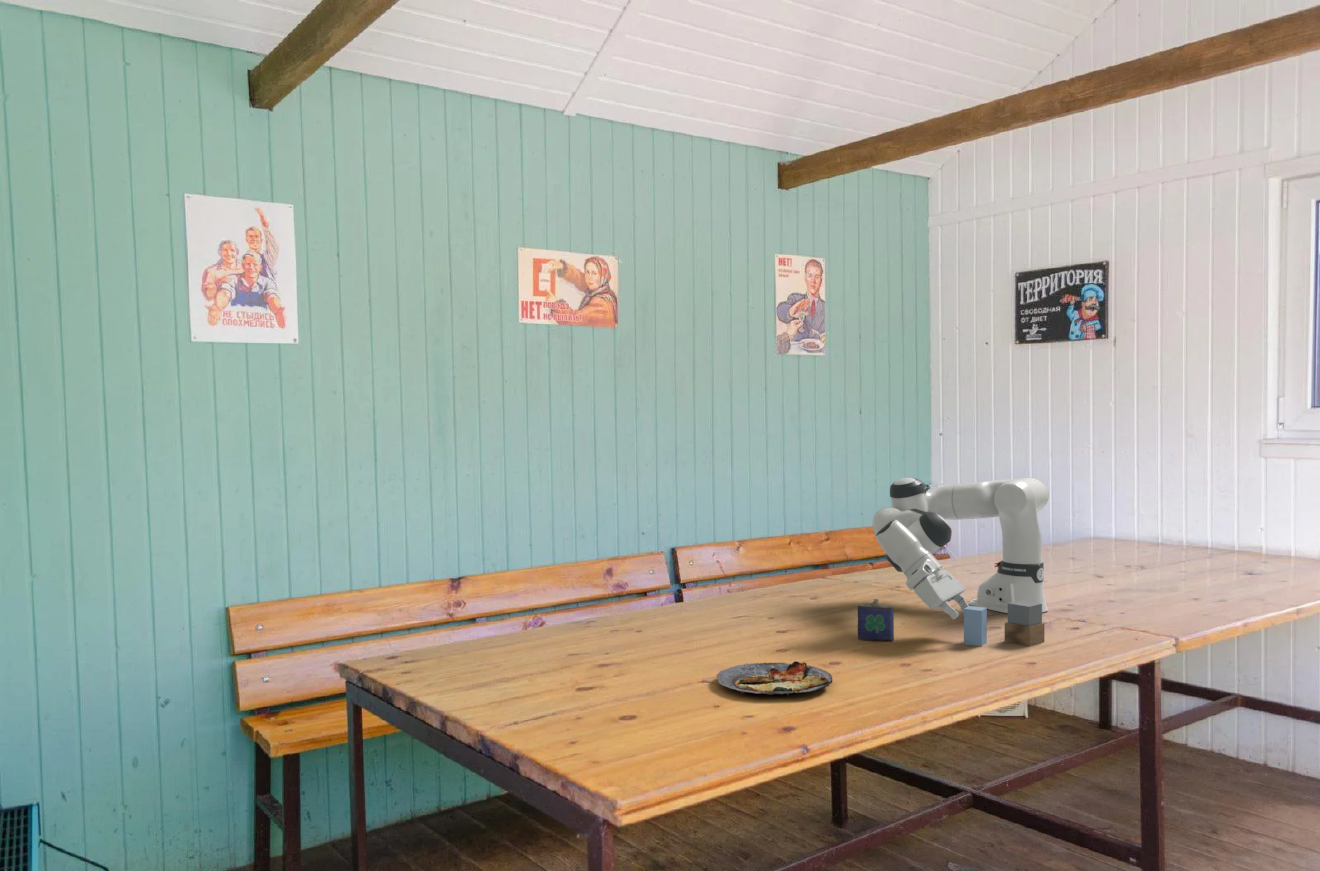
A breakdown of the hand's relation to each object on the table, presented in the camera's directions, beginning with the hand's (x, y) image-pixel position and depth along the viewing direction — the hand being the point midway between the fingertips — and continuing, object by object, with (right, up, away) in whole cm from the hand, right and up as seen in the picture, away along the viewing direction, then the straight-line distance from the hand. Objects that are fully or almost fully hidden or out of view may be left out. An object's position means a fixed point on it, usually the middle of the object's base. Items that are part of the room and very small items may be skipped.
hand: (962, 613), depth 248 cm
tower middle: (+16, -2, 0) cm, 16 cm away
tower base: (+16, -7, 0) cm, 18 cm away
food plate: (-53, -9, -37) cm, 65 cm away
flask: (-22, -8, +4) cm, 23 cm away
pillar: (+3, -7, -1) cm, 8 cm away
